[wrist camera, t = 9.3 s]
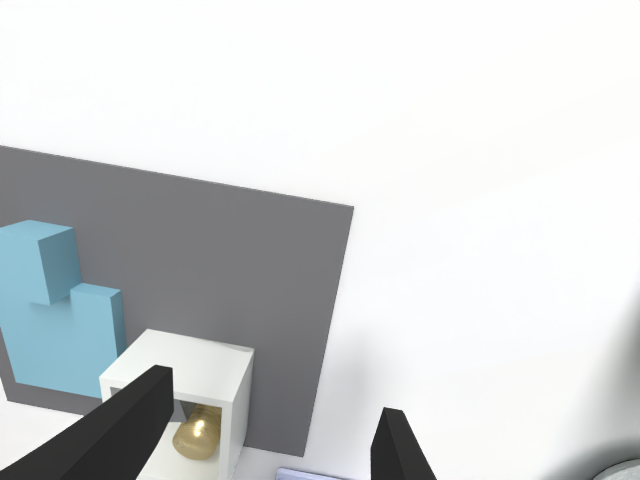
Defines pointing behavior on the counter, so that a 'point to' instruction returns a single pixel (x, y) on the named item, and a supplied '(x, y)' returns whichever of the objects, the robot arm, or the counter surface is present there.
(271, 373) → the mat
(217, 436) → the gold rounded piece
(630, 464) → the cereal bowl
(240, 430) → the tub
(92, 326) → the lid
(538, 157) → the counter surface
